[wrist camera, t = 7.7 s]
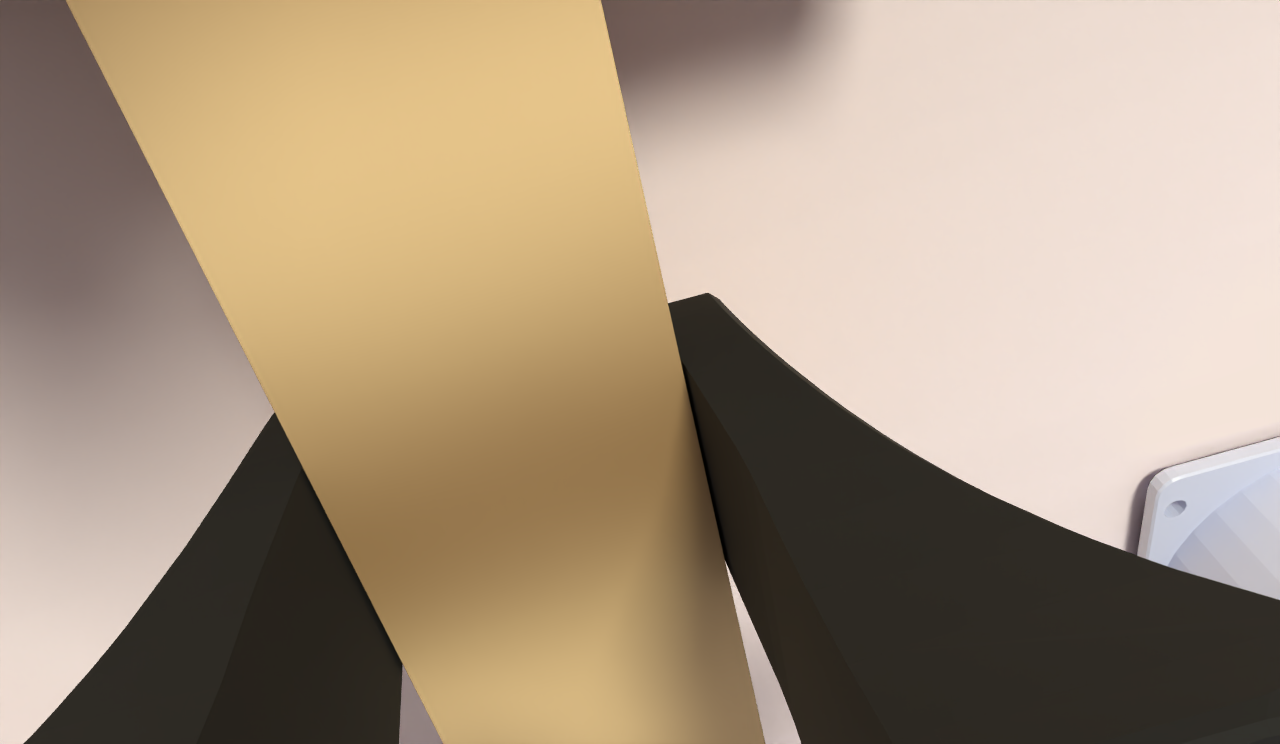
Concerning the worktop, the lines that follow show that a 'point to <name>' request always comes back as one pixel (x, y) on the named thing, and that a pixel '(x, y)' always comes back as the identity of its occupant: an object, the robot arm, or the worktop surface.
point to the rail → (457, 341)
